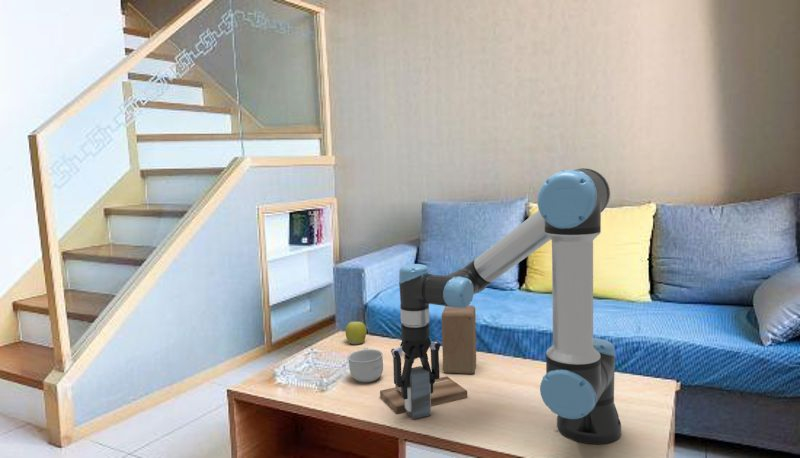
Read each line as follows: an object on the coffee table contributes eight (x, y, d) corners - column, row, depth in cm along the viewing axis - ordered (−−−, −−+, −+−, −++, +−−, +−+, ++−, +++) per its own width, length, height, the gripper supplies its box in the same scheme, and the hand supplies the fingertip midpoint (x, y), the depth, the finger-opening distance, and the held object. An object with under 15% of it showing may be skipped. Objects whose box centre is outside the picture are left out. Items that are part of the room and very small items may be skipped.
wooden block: (474, 375, 176) (473, 313, 173) (442, 373, 178) (441, 312, 175) (476, 363, 186) (475, 304, 183) (446, 362, 188) (445, 304, 185)
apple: (358, 345, 204) (351, 318, 205) (344, 347, 210) (338, 321, 210) (373, 340, 210) (367, 313, 211) (360, 342, 215) (354, 316, 216)
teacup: (380, 386, 170) (379, 361, 169) (345, 385, 172) (344, 360, 171) (388, 369, 183) (387, 345, 182) (355, 368, 185) (354, 344, 184)
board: (467, 397, 160) (467, 390, 160) (396, 414, 151) (396, 406, 151) (447, 382, 171) (447, 375, 171) (380, 397, 162) (379, 390, 162)
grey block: (430, 415, 149) (429, 372, 148) (413, 419, 147) (412, 375, 146) (406, 393, 163) (405, 354, 162) (390, 397, 161) (389, 357, 160)
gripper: (438, 314, 154) (441, 395, 157) (377, 324, 147) (381, 408, 150) (452, 321, 148) (454, 405, 151) (388, 332, 140) (392, 420, 143)
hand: (417, 407), depth 150 cm, fingers closed on grey block, 5 cm apart
